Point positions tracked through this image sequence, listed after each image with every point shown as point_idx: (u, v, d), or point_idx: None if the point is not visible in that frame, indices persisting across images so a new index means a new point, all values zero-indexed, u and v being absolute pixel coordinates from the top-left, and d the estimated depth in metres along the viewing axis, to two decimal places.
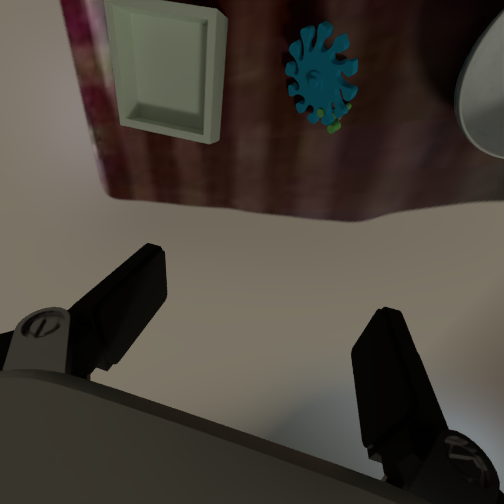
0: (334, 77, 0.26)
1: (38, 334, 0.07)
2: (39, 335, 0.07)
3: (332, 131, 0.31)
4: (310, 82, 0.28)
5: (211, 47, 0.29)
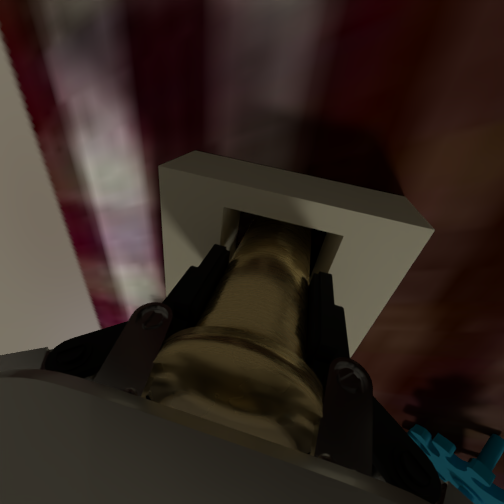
0: None
1: (145, 325, 0.07)
2: (146, 326, 0.07)
3: None
4: None
5: None
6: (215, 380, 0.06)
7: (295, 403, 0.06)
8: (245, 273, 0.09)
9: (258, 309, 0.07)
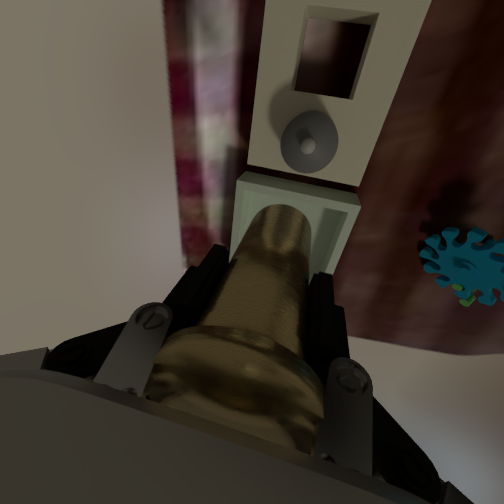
0: (496, 280, 0.25)
1: (145, 325, 0.07)
2: (146, 326, 0.07)
3: (466, 305, 0.30)
4: (461, 269, 0.27)
5: (346, 232, 0.28)
6: (215, 380, 0.06)
7: (295, 403, 0.06)
8: (245, 273, 0.09)
9: (258, 308, 0.07)
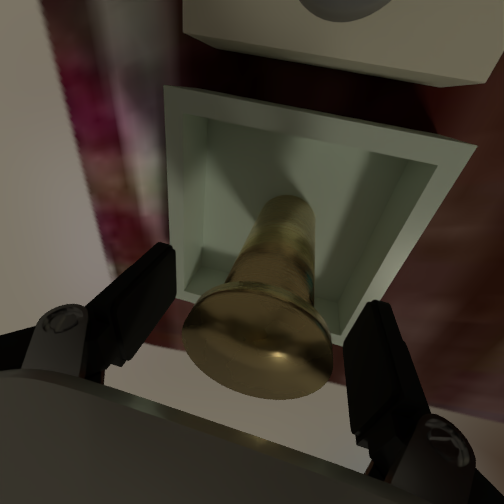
0: None
1: (58, 330, 0.07)
2: (58, 331, 0.07)
3: None
4: None
5: (422, 216, 0.12)
6: (244, 324, 0.08)
7: (309, 340, 0.07)
8: (261, 248, 0.11)
9: (275, 273, 0.09)
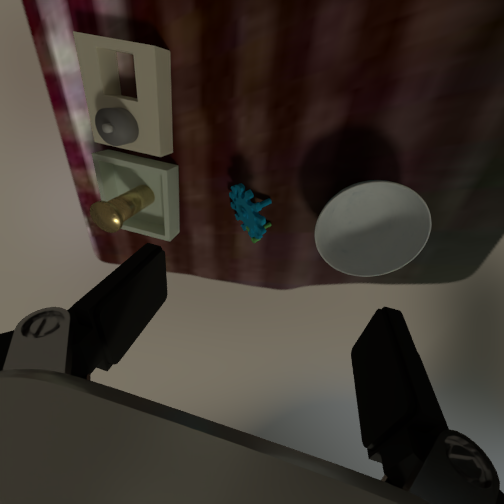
0: (253, 219, 0.39)
1: (38, 334, 0.07)
2: (39, 335, 0.07)
3: (254, 242, 0.44)
4: (240, 213, 0.41)
5: (165, 189, 0.42)
6: (100, 209, 0.38)
7: (111, 211, 0.38)
8: (115, 197, 0.41)
9: (112, 201, 0.39)
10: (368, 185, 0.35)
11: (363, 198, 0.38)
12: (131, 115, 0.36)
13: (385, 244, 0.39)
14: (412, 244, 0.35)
